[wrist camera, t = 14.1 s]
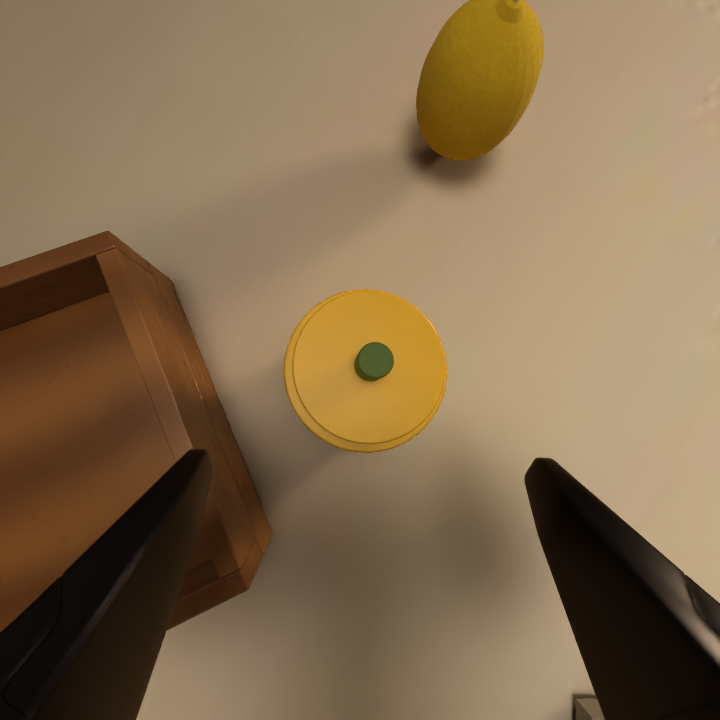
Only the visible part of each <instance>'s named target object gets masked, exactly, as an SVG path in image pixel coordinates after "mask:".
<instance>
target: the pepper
mask: <svg viewBox="0 0 720 720" xmlns="http://www.w3.org/2000/svg"><path fill="white" fill-rule="evenodd" d="M284 380H285V385H286V390H287V394H288V397H289V400H290V402H291V404H292V406H293V408H294V410H295V412H296V413H297V415H298V416H299V418H300V419H301V421H302V422H303V423H304V424H305V425H306V426H307V428H308V429H309V430H311V431H312V432H313V433H314V434H315V435H316V436H318V437H319V438H321V439H322V440H324V441H325V442H327V443H329V444H331V445H333V446H336V447H338V448H341V449H345V450H349V451H354V452H368V453H369V452H379V451H384V450H388V449H391V448H394V447H397V446H399V445H401V444H403V443H405V442H407V441H409V440H410V439H412V438H413V437H414V436H416V435H417V434H418V433H420V432H421V431H422V430H423V429H424V428H425V427H426V426H427V424H428V423H429V422H430V421H431V419H432V418H433V416H434V415H435V413H436V411H437V410H438V408H439V406H440V403H441V401H442V398H443V395H444V391H445V387H446V380H447V365H446V357H445V353H444V348H443V346H442V343H441V340H440V338H439V336H438V334H437V332H436V330H435V328H434V327H433V326H432V324H431V323H430V321H429V320H428V319H427V318H426V317H425V316H424V314H423V313H422V312H420V311H419V310H418V309H417V308H416V307H415V306H413V305H412V304H410V303H409V302H407V301H406V300H404V299H402V298H400V297H398V296H396V295H393V294H390V293H387V292H382V291H378V290H367V289H363V290H352V291H346V292H343V293H340V294H336V295H334V296H332V297H330V298H327V299H325V300H324V301H322V302H321V303H319V304H317V305H316V306H315V307H314V308H313V309H311V310H310V311H309V312H308V313H307V314H306V315H305V316H304V317H303V319H302V320H301V321H300V323H299V324H298V325H297V327H296V328H295V330H294V332H293V334H292V336H291V338H290V341H289V344H288V346H287V350H286V355H285V362H284Z"/></svg>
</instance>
